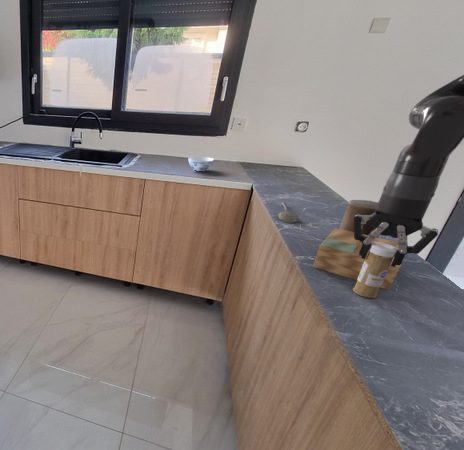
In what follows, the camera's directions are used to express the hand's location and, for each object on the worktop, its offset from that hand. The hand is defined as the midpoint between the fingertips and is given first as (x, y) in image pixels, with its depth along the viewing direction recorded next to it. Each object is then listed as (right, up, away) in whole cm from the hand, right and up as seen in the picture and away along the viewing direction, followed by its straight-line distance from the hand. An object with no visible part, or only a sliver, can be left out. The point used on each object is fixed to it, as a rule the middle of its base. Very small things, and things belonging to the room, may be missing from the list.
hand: (377, 261), depth 74 cm
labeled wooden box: (+9, -3, +15) cm, 18 cm away
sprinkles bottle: (0, -9, +4) cm, 10 cm away
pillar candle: (+21, +3, +29) cm, 36 cm away
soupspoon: (+17, +13, +54) cm, 58 cm away
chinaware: (+12, +44, +126) cm, 134 cm away
